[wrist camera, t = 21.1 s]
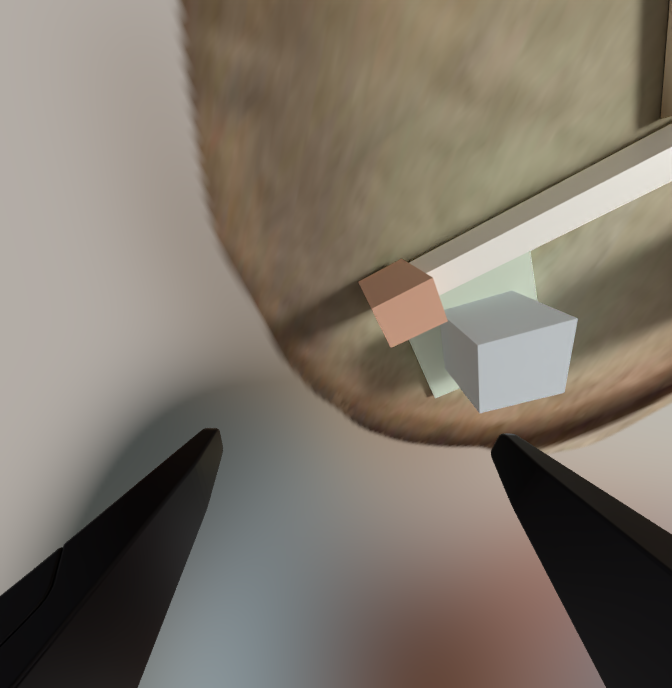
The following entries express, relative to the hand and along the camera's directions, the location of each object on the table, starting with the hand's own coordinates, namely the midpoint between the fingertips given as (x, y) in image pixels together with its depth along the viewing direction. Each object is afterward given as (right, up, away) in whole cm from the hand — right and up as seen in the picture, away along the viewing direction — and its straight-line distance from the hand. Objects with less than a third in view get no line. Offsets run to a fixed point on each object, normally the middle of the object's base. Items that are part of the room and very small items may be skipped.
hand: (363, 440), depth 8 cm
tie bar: (+10, +11, +7) cm, 16 cm away
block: (+9, +4, +10) cm, 15 cm away
